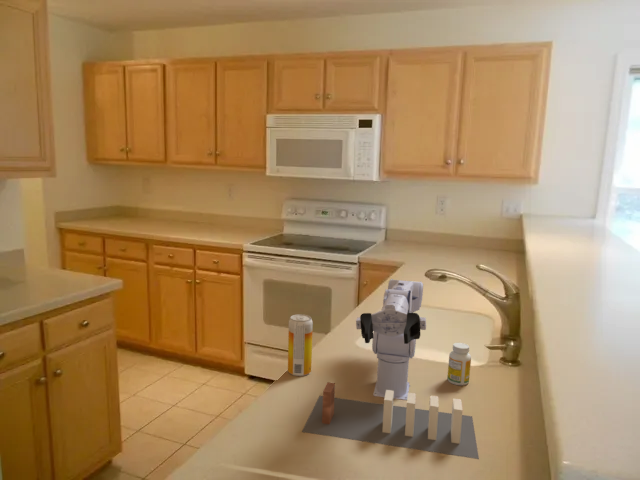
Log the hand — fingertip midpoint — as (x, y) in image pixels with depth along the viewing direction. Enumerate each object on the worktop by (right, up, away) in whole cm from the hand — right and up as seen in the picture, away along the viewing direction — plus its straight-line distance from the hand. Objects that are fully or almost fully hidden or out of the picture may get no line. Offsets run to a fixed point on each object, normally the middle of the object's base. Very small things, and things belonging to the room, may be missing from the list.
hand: (385, 338), depth 95 cm
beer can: (-18, -15, +31) cm, 39 cm away
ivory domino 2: (+5, -20, +4) cm, 21 cm away
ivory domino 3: (+10, -20, +3) cm, 22 cm away
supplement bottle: (+22, -17, +29) cm, 40 cm away
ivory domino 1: (+1, -19, +5) cm, 20 cm away
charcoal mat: (+2, -20, +7) cm, 21 cm away
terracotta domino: (-11, -18, +8) cm, 23 cm away
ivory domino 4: (+14, -20, +2) cm, 25 cm away
